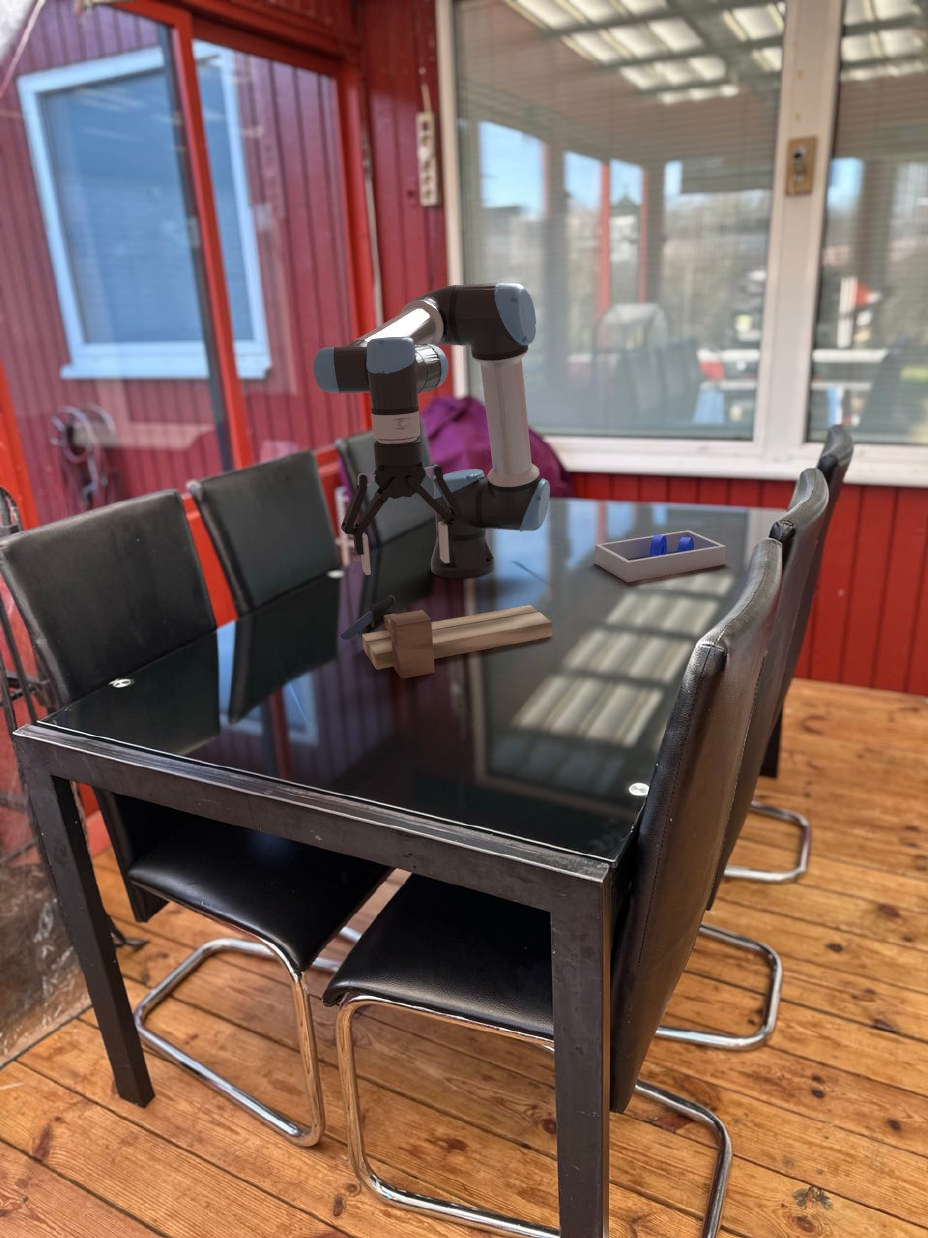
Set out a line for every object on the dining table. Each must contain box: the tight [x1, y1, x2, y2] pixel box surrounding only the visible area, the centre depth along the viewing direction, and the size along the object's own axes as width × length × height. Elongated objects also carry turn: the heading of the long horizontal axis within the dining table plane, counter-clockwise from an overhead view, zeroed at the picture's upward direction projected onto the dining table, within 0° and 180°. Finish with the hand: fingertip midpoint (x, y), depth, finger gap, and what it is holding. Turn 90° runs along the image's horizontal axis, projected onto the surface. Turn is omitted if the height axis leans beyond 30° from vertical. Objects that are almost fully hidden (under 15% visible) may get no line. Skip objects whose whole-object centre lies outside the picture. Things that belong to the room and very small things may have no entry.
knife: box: [339, 594, 396, 641], centre depth 172 cm, size 24×2×5 cm, turn 162°
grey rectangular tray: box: [594, 529, 727, 583], centre depth 202 cm, size 15×25×4 cm, turn 110°
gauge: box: [383, 609, 436, 679], centre depth 159 cm, size 18×6×10 cm, turn 20°
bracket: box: [649, 534, 694, 557], centre depth 207 cm, size 18×8×9 cm, turn 153°
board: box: [361, 604, 553, 670], centre depth 165 cm, size 10×34×3 cm, turn 110°
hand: (406, 566), depth 148 cm, fingers open, 13 cm apart
